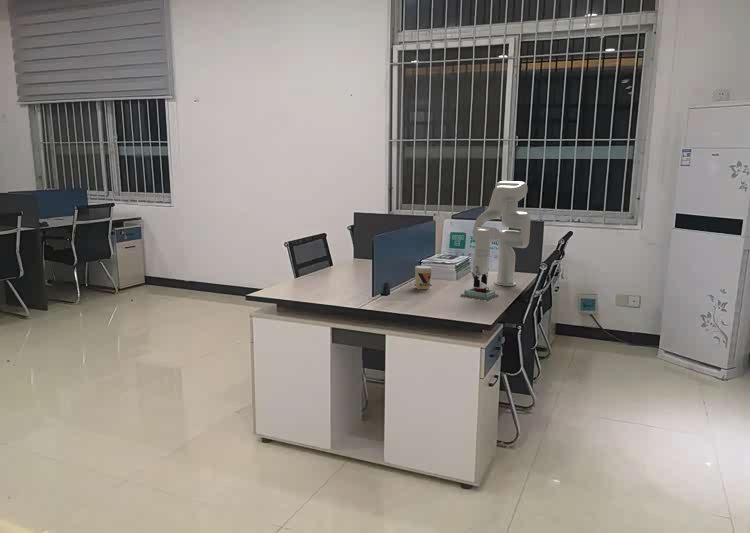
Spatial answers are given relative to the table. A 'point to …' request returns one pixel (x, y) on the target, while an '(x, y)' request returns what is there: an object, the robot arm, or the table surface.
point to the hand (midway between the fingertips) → (480, 285)
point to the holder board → (479, 294)
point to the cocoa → (481, 287)
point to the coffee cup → (423, 277)
